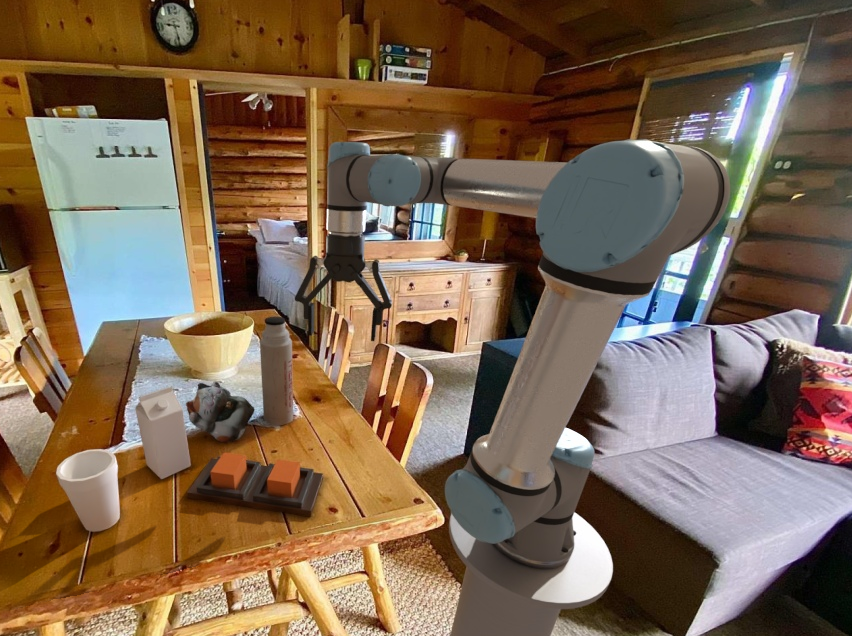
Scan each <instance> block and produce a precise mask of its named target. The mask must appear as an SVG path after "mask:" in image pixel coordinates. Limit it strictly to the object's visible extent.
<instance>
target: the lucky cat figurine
mask: <svg viewBox="0 0 852 636" xmlns="http://www.w3.org/2000/svg"><path fill="white" fill-rule="evenodd" d="M185 406H186V411H187V414H188V419H189V421H190V423H191V424H192V425H193V426H195V427H196V428H198V429H200V430H202V431H204V432H205V433H206V434H208V435H210V436H212V437H213V438H214V439H215V440H216V441H217V442H220V443H229V442H236V441H237V440H240V438H241V437H242V436H243V435H244V434H245V431H246V429H247V428H246V427H247V425H248V423H249V422H250V419H252V416H253V415H254V413H255V409H256V408H255V407H254V406H253V405H252V404H251V403H250V402H249V400H248V399H246V398H245V397H243V396H240V395H232V394H231V392H230V390H228V389H227V388H225V387H223V386H221V385H220V383H219V382H218V381H213V382H212V384H211V385H208V384H205V383H204V382H199V383H198V384H197V389H196V393H195V396H194V398H193V399H192V400H187V402H186V403H185Z"/></svg>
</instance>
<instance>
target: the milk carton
mask: <svg viewBox="0 0 852 636" xmlns="http://www.w3.org/2000/svg"><path fill="white" fill-rule="evenodd" d="M138 401H139V402H138V403H137V405H136V406H135V407H134V410H135V414H136V419H137V423H138V429H139V434H140V438H141V439H140V440H141V443H142V449H143V454H144V458H145V459H144V460H145V463H146V466H147V467H148V468H149V469H150V470H151V471H152V472H153V473H154V474H155V475H156V476H157V477H158V478H159V479H160V480H164V479H166V478H168V477H170V476H173V475H175V474H177V473H179V472H181V471H183V470H186V469H187V468H190V467H191V466H192V464H191V457H190V451H189V443H188V437H187V429H186V423H185V417H184V410H183V409H184V408H183V407H182V405H181V403H180V401H179V399H178V397H177V395H176V394H175V391H174V390H173V386H168V387H165V388H162V389H159V390H156V391H152V392H150V393H146V394H143V395H139V396H138Z"/></svg>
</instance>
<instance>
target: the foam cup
mask: <svg viewBox="0 0 852 636" xmlns="http://www.w3.org/2000/svg"><path fill="white" fill-rule="evenodd" d="M118 472H119V466H118V461H117V457H116V455H115V454H114V453H113V452H112V451H111V450H107V449H103V448H97V449H95V448H94V449H86V450H83V451H80V452H76V453H74V454H72V455H70V456H68V457H67V458H65V459H64V460H63V461H61V463H60V464H59V465H57V468H56V472H55V475H56V477H57V478H56V479H57V480H58V484H59V486H60V487H61V488H62V489H63V491H64V493H65V495H66V496H67V499H68V500H69V502H70V504H71V506H72V508H73V509H74V511H75V513H76V515H77V517H78V518H79V520H80V523H81V525H82V526H83V527H84V529H85V530H86V531H89V532H92V533H95V532H102V531H105V530H107V529H110V528H111V527H113V526H114V525H115V524H117V523H118V521H119V520H120V518H121V517H120V516H121V507H120V495H119V493H120V492H119V480H118Z"/></svg>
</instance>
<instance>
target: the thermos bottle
mask: <svg viewBox="0 0 852 636" xmlns="http://www.w3.org/2000/svg"><path fill="white" fill-rule="evenodd" d="M264 323H265V329H263V331H262V333H261V337H262V338H261V339H259V349H260V350H259V352H260V353H259V355H260V373H261V374H260V375H261V390H262V407H263V408H262V410H263V420H264V422H265V423H266V424H268V425H272V426H283V425H287V424H289V423H291V422H292V421H293V420H294V381H293V380H294V379H293V375H294V374H293V340H292V339H291V336H290V332H289V330H288V329H287V328H286V318H285V317H282V316H268V317H266V318H264Z"/></svg>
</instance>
